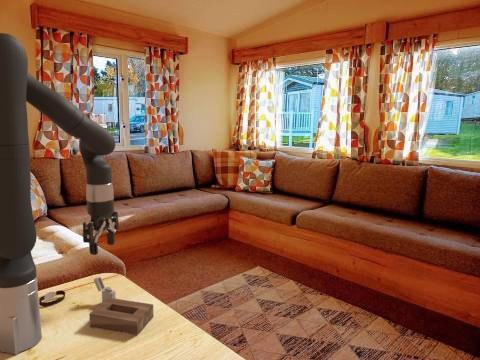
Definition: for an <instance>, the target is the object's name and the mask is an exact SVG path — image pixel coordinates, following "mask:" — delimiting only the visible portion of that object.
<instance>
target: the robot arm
mask: <svg viewBox="0 0 480 360" xmlns="http://www.w3.org/2000/svg"><path fill="white" fill-rule="evenodd" d="M28 59H29V58H28V54H27V51H26V49H25V47H24V45H23V43H21V41H20V40H19V39H18V38H16V37H15V36H14V35H12V34H9V33H5V32H0V352H2V353H7V354H12V355H18V354H19V353H21V352H23V351H27V350H29V349H30V348H32V347H35V346H36V345H37V344H38V343H39V342H40V341H42V337H43V336H42V334H43V333H42V323H41V313H40V312H41V311H40V304H39V299H40V297H39V288H38V277H37V275H38V274H37V267H36V264H35V262H34V259H33V258H34V257H33V254H32V251H33V250H34V248H35V246H36V244H37V240H38V238H37V234H38V233H37V229H36V224H35V218H34V213H33V208H32V200H31V199H32V197H31V193H32V192H31V189H32V188H31V187H32V186H31V183H32V181H31V180H32V179H31V178H32V177H31V150H30V138H29V136H30V135H29V123H28V121H29V119H28V109H27V108H28V107H27V103H28V104H29V105H31V106H32V107H33V108H35V109H36V110H38V111H39V112H40V113H41V114H43V115H44V116H45V117H46V118H47V119H49V120H50V121H51V122H52V123H54V125H56V126H57V127H58V128H60V129H61V130H62V131H63V132H64V133H66V134H67V135H69V136H71V137H74V138H77V139H78V140H79V149H80V150H79V151H80V154H81V157H82V161H83V164H84V166H85V174H86V175H85V176H86V188H85V189H86V191H85V192H86V195H85V196H86V210H87V211H86V213H87V214H88V215H89V217H90V220H89V221H83V223H82V237H83V238H82V241H83V243H88V247H89V248H88V250H89V254H90V255H92V256H97V255H98V254H99V249H98V248H99V246H98V241H99V240H98V239H99V237H100V236H101V235H102V233H103V232H104V231H106V232H107V233H106V244H107V245H108V246H109V245H111V246H113V245H115V244H116V243H115V237H116V235H115V233H116V232H117V230H119V227H120V226H119V223H120V222H119V214H118V211H116V210H115V200H114V199H115V198H114V185H113V176H112V175H113V172H112V171H113V170H112V166H111V164H109V163H108V162H107V161H106V159H105V158H104V156H108V155H110V154H112V153H113V152H114V151H115V148H116V139H115V137H114V136H113V134H112V133H111V132H110V131H109V130H108V129H107V128H105V127H103V126H102V125H100V124H99V123H98V122H96V121H94V120H92V119H91V118H89V117H88V116H86V114H85V113H84V112H82V111H81V109H79V107H77V106H76V105H75V104H74V103H73V102H71V100H69V99H68V98H67V97H65V96H63V95H62V94H60V93H59V92H57V91H55V90H54V89H52V88H51V87H49V86H47V85H46V84H45V83H42V82H41V81H40V80H39V79H37V78H36V77H34V76H33V75H32V74H31V73H29V71H28V70H29V60H28Z"/></svg>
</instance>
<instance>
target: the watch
mask: <svg viewBox="0 0 480 360" xmlns="http://www.w3.org/2000/svg"><path fill="white" fill-rule="evenodd" d="M60 295H61V297H59V298H57V299H54V298H55V297H56V296H60ZM65 296H66V291H65V290H57V291H55V290H48V291H47V292H46V293H45V294H44V295H42V296H41V297H39V307H40V306H41V307H44V308H45V307H50V306H54V305H56V304H59V303H60V302H62V301H64V300H65V298H66V297H65ZM53 299H54V300H53ZM50 300H51V301H50ZM44 301H47V302H44Z"/></svg>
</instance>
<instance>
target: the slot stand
mask: <svg viewBox="0 0 480 360" xmlns="http://www.w3.org/2000/svg"><path fill="white" fill-rule="evenodd" d="M154 316H155V315H154V304H153V303H152V304H151V303H147V302H140V301H133V300H126V299H120V298H116V299H115V298H108V299H107V300H105V301H104V302H103V303H102V302H101V303H100V304H99V305H97V307H96V308H95V309H93V310H91V311H90V313H89V327H90V328H94V329H101V330H105V331H111V332H119V333H122V334H128V335H133V336H139V334H140V333H141V332H142V331H143V330H144V329H145V328H146V326H147V325H148V324H149V322H151V321H152V319H154Z"/></svg>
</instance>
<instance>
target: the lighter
mask: <svg viewBox="0 0 480 360" xmlns="http://www.w3.org/2000/svg"><path fill="white" fill-rule="evenodd" d="M93 281H94V282H93V283H94V284H95V286H96V289H97V291H98V292H101V299H102V300H101V304H102V303H103V302H104V301H105V300H107V299H108V298H115V299H117V297H116V290H113V289H112V287H109V286H107V287H106V286H105V284H104V281H103V279H102V277H101V276H97V277H95V278H93Z"/></svg>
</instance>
